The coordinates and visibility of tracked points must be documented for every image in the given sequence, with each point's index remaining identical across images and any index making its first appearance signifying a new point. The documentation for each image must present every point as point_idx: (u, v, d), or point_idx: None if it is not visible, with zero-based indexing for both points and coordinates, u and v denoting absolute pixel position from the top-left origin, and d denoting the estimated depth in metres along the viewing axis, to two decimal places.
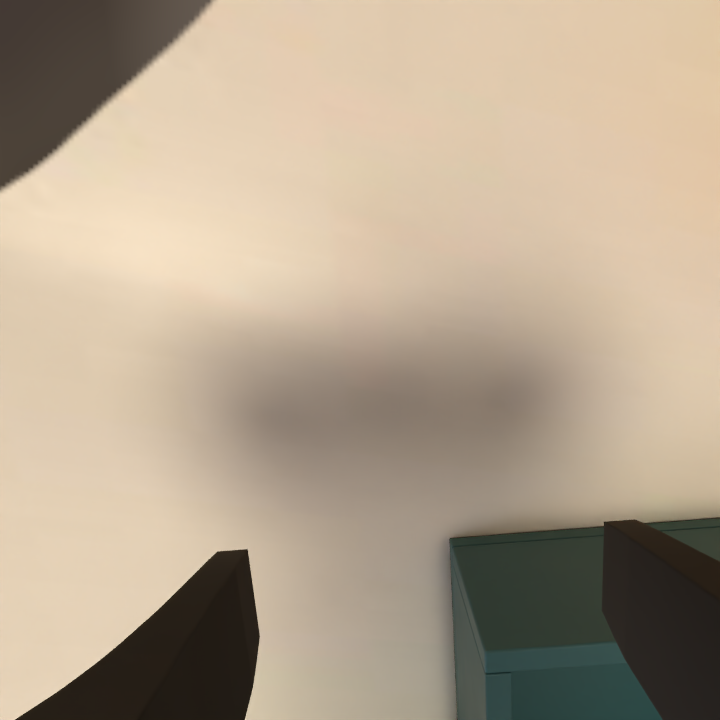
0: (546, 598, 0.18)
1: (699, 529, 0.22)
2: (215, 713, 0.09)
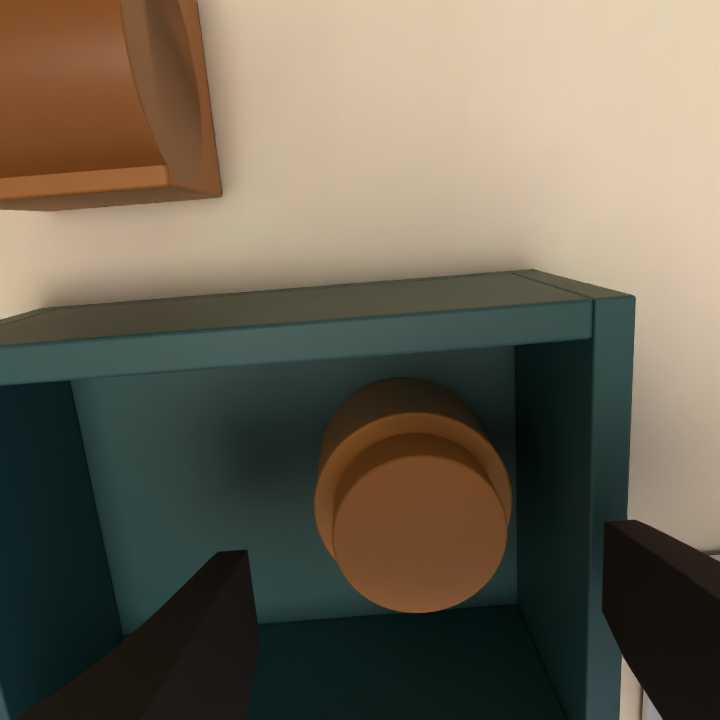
0: None
1: None
2: (215, 713, 0.09)
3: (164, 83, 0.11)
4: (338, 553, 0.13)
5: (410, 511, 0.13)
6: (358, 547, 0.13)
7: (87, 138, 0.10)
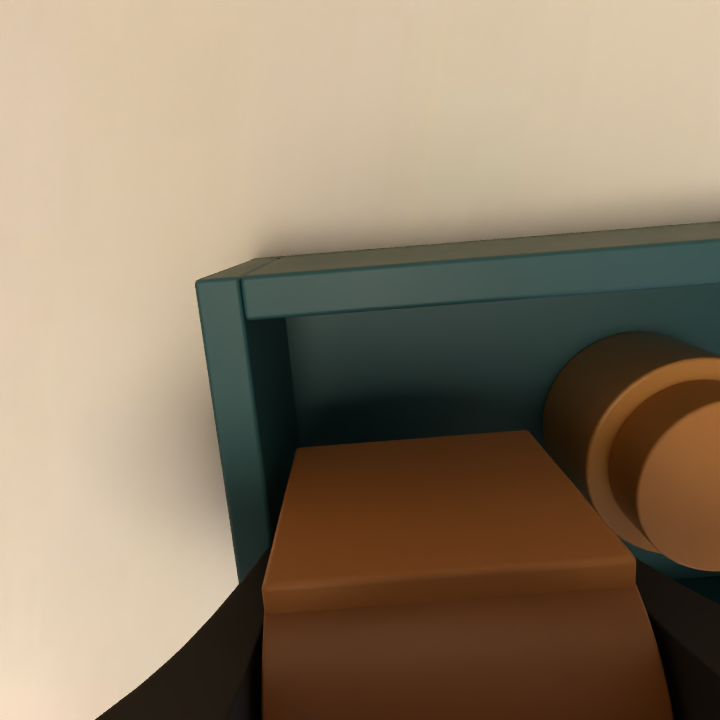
0: None
1: None
2: None
3: None
4: (641, 505, 0.12)
5: None
6: (664, 499, 0.12)
7: None
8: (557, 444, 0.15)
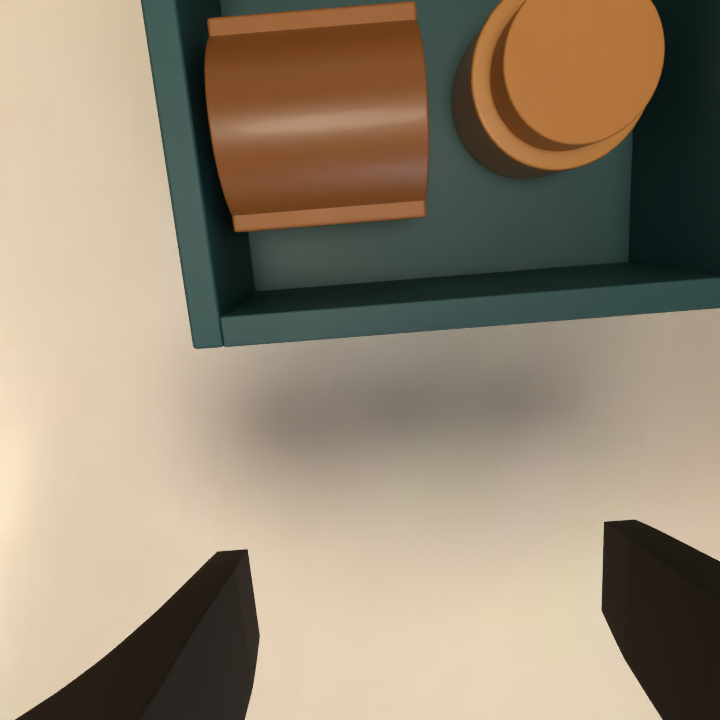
0: None
1: None
2: (215, 713, 0.09)
3: None
4: (508, 75, 0.14)
5: (577, 28, 0.14)
6: (527, 68, 0.14)
7: (379, 181, 0.14)
8: (458, 102, 0.17)
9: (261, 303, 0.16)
